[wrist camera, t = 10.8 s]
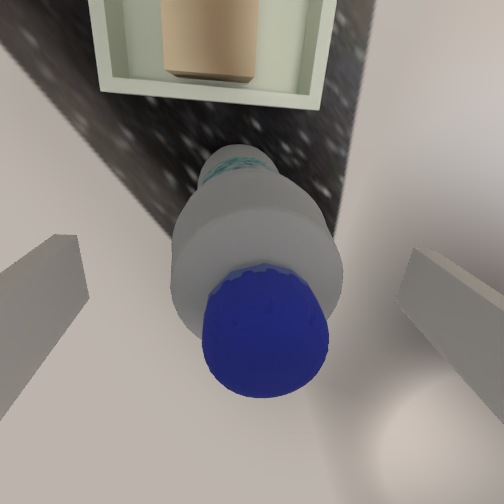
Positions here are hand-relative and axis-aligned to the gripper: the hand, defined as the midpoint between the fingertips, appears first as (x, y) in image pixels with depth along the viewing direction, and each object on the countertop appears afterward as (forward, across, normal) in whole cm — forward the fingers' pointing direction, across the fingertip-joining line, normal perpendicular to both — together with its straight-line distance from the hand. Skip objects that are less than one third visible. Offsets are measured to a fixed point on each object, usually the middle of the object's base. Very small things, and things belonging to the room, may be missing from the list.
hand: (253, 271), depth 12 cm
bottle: (+15, 0, +1) cm, 15 cm away
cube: (+14, -2, +10) cm, 17 cm away
